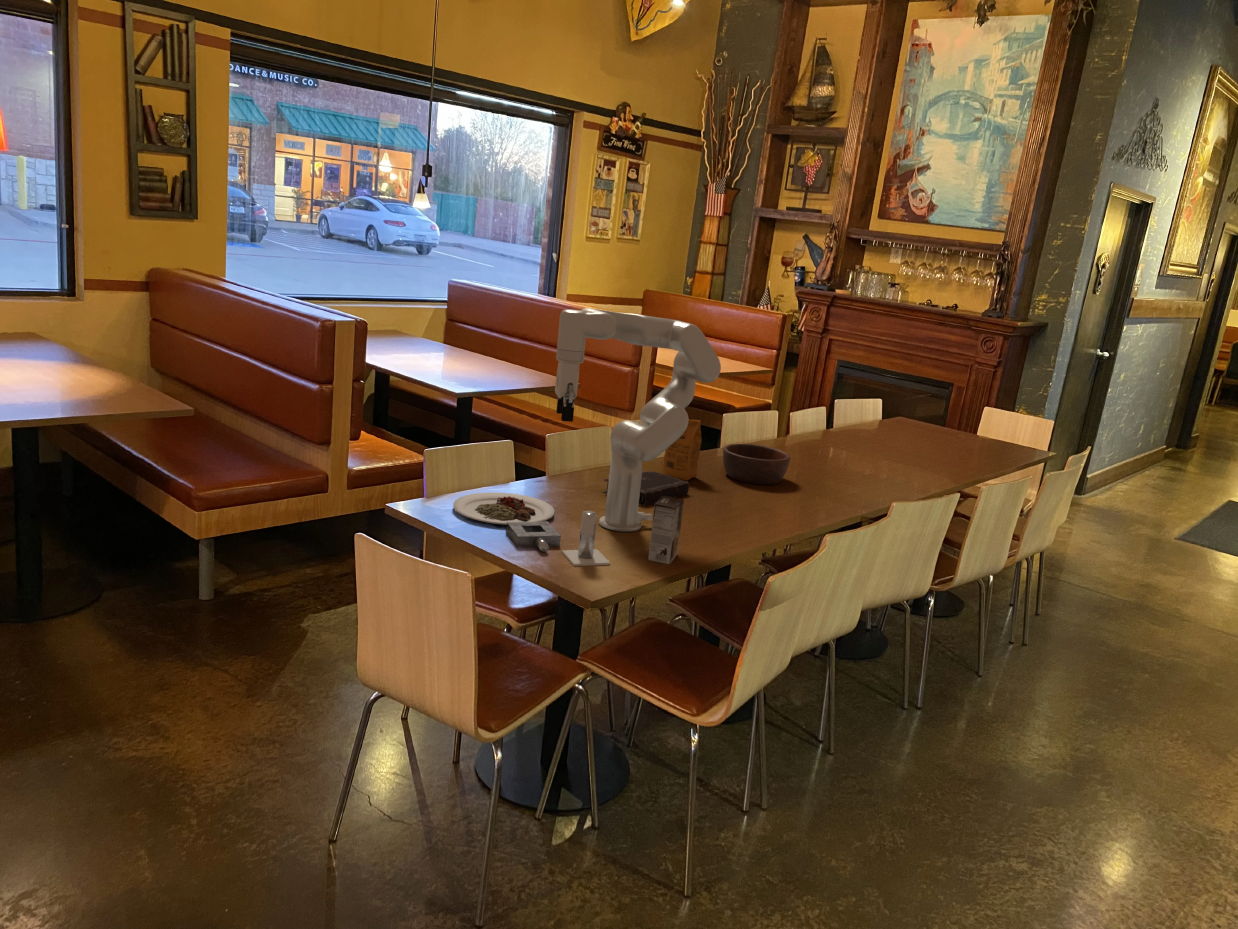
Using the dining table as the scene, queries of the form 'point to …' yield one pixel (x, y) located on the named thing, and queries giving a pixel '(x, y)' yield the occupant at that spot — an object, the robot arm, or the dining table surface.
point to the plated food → (503, 508)
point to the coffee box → (666, 529)
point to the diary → (658, 487)
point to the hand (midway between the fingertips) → (564, 417)
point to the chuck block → (533, 534)
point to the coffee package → (684, 453)
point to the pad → (577, 561)
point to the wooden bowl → (755, 463)
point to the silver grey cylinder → (587, 534)
